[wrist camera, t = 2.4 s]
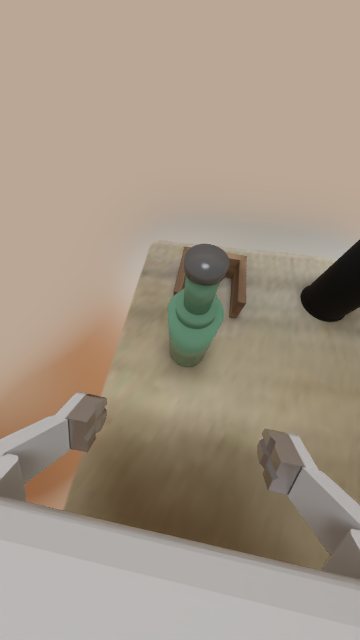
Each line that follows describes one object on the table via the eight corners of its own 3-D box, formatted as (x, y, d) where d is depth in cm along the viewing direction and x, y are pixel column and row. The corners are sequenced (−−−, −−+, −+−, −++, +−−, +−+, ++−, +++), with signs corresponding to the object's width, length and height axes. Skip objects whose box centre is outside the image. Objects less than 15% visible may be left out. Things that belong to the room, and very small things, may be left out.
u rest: (237, 274, 37) (246, 256, 33) (236, 318, 33) (245, 303, 28) (183, 266, 38) (184, 246, 33) (173, 307, 33) (173, 291, 29)
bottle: (206, 337, 31) (249, 237, 13) (202, 370, 28) (249, 302, 11) (173, 331, 31) (173, 226, 13) (166, 363, 29) (155, 286, 11)
